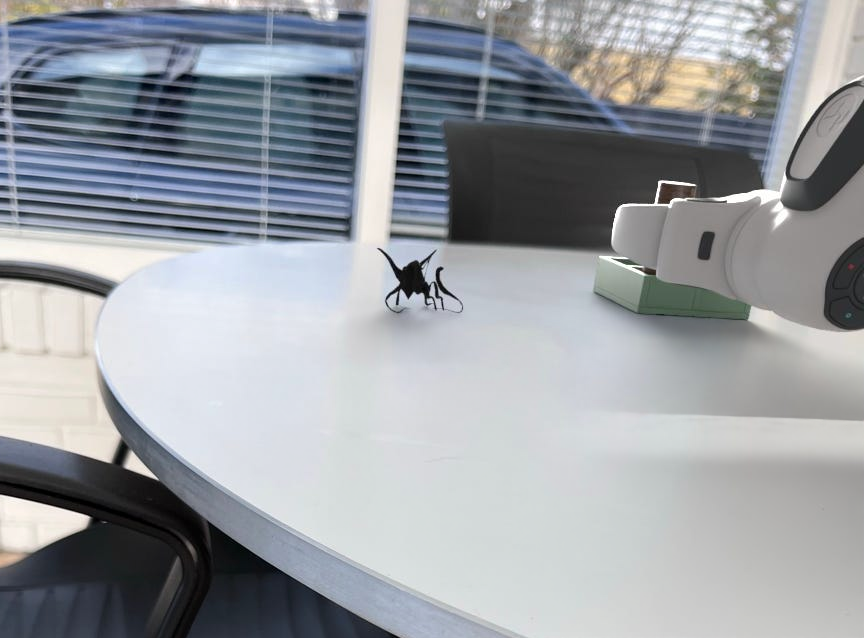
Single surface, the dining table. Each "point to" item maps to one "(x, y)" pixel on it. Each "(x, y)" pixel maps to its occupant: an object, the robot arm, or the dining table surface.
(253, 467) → the dining table surface
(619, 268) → the grid
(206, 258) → the dining table surface
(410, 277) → the creature
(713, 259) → the robot arm
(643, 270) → the brown cylinder
